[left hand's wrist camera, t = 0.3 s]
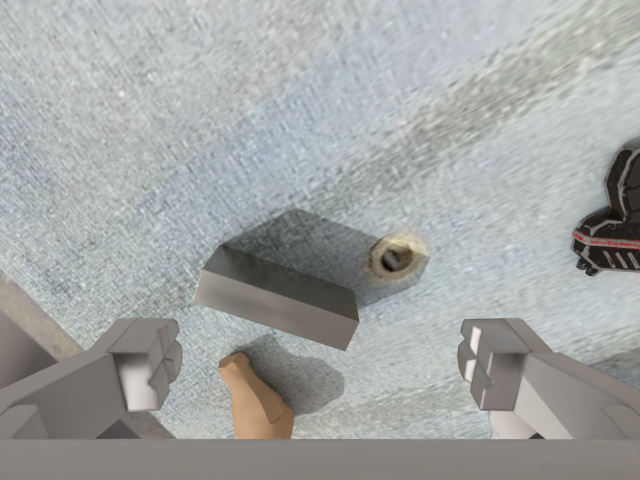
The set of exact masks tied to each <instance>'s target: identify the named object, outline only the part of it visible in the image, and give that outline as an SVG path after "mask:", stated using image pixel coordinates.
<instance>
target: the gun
mask: <svg viewBox="0 0 640 480" xmlns="http://www.w3.org/2000/svg"><path fill="white" fill-rule="evenodd" d="M604 185H605V191H606V196H607V200H608V203H609V207H610V209H609V212H608V215H601V214H592V215H591V216H589V217H587V218H586V219H584V220H582V221H581V222H579V225H578V228H577V229H575V230H574V231H573V234H572V236H573V237H574V240H573V242H572V245H571V248H570V249H572V250H573V251H574V252H575V253H576V254H577V255H578V256H579V257H580V258H579V261H578V264H577V266H576V267H577V268H578V269H580V270H585V269H587V270H586V274H587V275H589V276H595V275H597V274H598V273H600V272H602V271H603V270H610V271H624V272H638V273H640V148H634V147H627V146H622V147H621V148H620V149H619V150H618V152H617V153H616V154H615V156H614V158H613V160H612V162H611V164H610V167H609V169H608V172H607V175H606V177H605V180H604Z"/></svg>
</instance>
